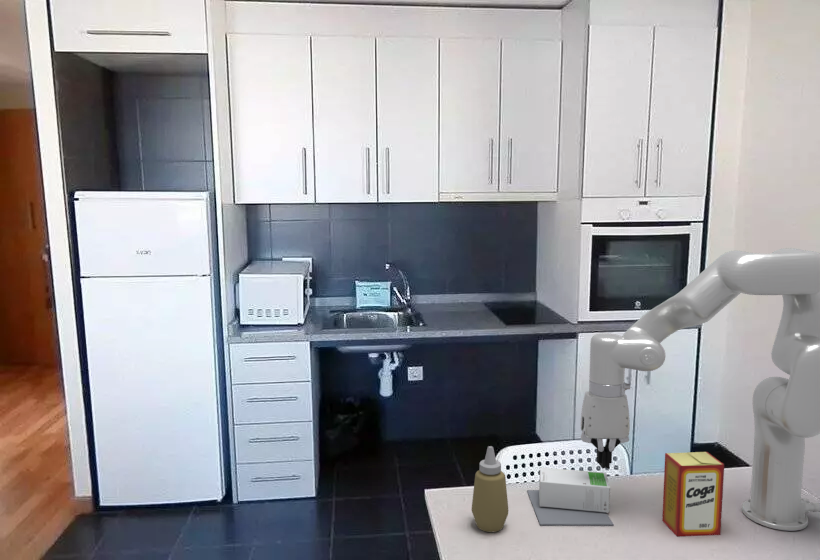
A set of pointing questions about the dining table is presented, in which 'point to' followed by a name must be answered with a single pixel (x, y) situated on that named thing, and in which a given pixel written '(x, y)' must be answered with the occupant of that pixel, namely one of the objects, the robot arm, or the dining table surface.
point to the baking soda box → (693, 494)
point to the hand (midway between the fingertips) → (603, 465)
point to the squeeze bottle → (490, 494)
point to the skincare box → (574, 490)
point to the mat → (567, 515)
